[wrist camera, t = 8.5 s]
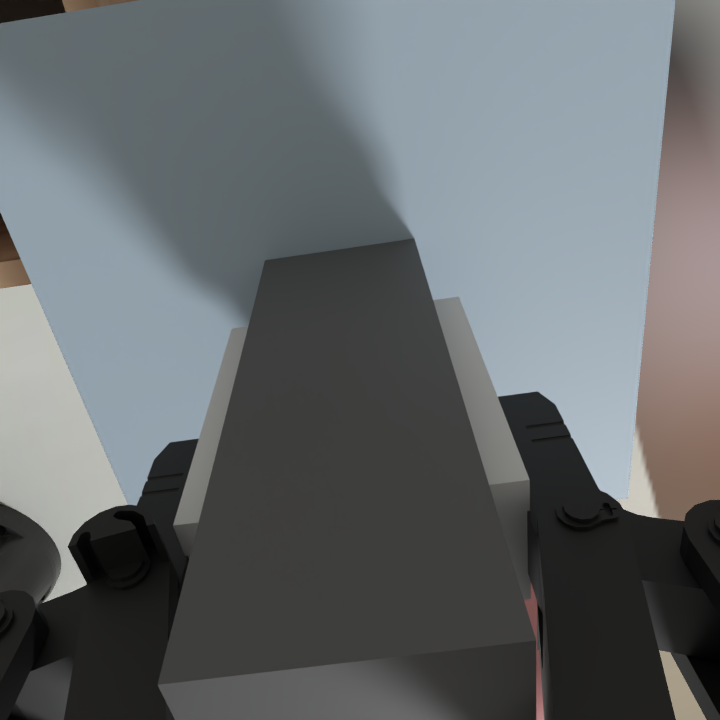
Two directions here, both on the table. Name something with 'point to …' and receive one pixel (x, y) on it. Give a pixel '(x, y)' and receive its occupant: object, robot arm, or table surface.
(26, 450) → the table surface
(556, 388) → the lid
